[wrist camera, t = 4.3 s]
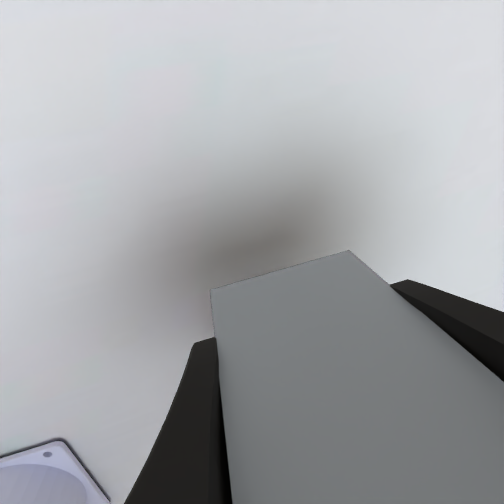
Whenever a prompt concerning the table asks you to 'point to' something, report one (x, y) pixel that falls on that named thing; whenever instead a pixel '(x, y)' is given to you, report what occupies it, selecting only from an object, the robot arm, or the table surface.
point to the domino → (350, 394)
